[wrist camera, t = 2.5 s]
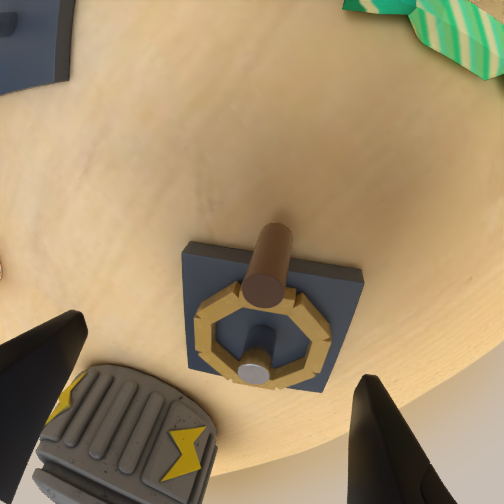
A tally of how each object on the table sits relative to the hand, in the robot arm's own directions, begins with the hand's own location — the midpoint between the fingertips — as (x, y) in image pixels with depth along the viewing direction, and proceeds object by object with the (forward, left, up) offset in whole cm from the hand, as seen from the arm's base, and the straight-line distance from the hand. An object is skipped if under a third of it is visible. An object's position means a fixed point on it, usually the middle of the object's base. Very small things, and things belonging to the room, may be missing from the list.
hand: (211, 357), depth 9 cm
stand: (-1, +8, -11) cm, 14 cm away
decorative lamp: (+11, +27, -11) cm, 31 cm away
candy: (-9, -12, -11) cm, 19 cm away
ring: (-1, +6, -10) cm, 11 cm away
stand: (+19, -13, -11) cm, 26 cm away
